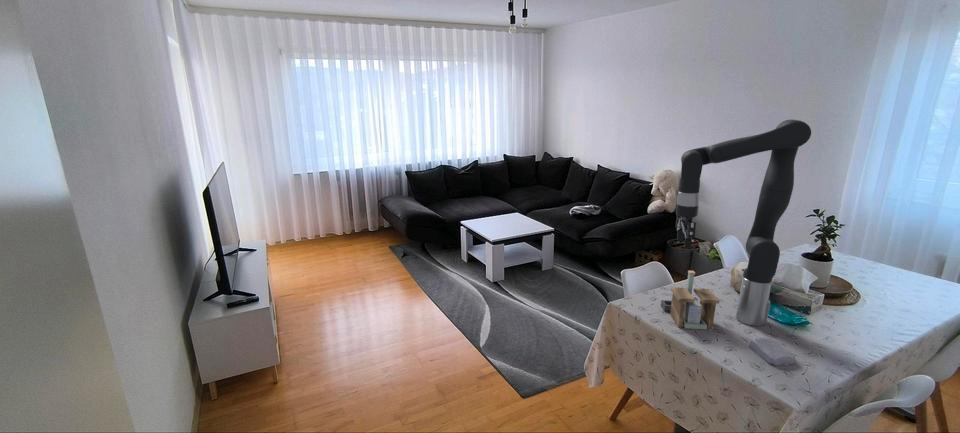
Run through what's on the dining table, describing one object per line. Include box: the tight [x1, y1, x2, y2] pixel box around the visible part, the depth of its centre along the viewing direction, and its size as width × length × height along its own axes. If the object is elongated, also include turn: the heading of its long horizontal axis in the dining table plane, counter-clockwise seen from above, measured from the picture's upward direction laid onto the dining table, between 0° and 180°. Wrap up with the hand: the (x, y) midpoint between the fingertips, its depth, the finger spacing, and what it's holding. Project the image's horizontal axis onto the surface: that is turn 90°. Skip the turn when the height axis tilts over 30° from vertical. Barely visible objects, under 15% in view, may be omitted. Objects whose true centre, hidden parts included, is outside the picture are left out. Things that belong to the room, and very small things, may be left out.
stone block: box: [748, 336, 796, 367], centre depth 144 cm, size 12×5×10 cm
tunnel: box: [669, 286, 720, 330], centre depth 164 cm, size 14×10×12 cm
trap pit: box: [660, 299, 700, 313], centre depth 175 cm, size 15×5×2 cm, turn 83°
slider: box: [682, 270, 708, 330], centre depth 163 cm, size 8×12×18 cm, turn 173°
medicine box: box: [684, 297, 702, 324], centre depth 165 cm, size 8×4×9 cm, turn 168°
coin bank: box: [729, 261, 749, 293], centre depth 193 cm, size 16×17×13 cm
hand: (683, 243), depth 169 cm, fingers open, 8 cm apart
